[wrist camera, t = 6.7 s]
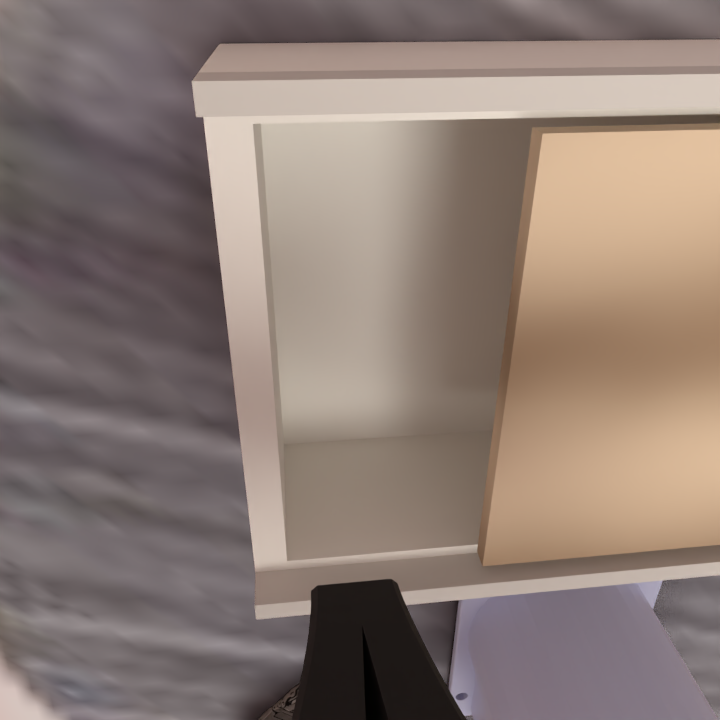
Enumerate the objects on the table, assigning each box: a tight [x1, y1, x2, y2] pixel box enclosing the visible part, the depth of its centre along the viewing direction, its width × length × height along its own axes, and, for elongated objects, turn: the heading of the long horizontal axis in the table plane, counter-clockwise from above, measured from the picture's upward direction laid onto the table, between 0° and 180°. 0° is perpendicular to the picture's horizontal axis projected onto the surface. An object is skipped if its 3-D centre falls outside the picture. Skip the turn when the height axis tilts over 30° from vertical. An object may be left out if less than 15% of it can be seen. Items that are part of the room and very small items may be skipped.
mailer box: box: [192, 39, 720, 620], centre depth 16 cm, size 12×14×6 cm
